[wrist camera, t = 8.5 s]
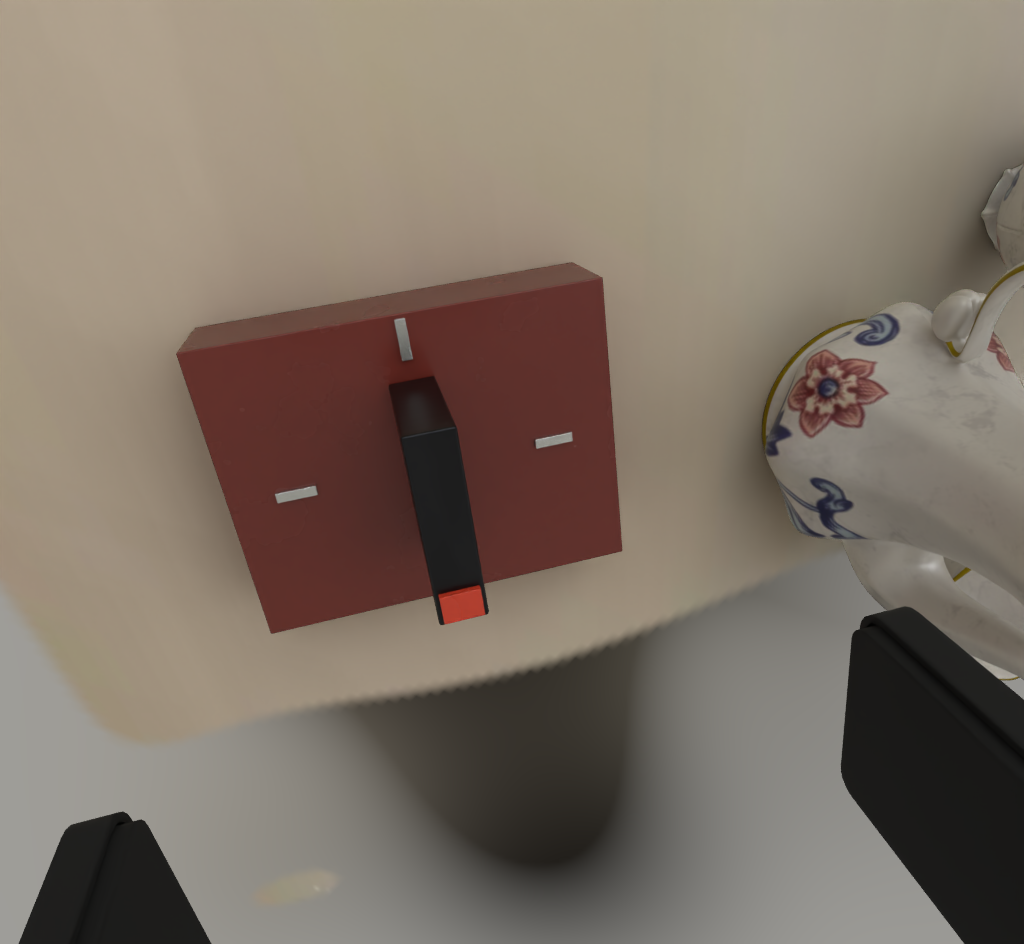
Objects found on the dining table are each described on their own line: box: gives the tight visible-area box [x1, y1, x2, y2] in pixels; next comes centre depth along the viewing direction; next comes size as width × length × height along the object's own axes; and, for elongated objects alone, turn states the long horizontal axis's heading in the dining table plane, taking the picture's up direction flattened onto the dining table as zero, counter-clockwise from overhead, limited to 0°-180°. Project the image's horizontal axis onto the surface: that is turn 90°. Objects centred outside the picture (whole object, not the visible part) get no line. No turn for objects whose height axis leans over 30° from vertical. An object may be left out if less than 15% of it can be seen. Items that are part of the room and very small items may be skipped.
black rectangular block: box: [389, 376, 489, 625], centre depth 24 cm, size 6×2×5 cm, turn 8°
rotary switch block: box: [176, 262, 622, 634], centre depth 28 cm, size 14×11×4 cm
